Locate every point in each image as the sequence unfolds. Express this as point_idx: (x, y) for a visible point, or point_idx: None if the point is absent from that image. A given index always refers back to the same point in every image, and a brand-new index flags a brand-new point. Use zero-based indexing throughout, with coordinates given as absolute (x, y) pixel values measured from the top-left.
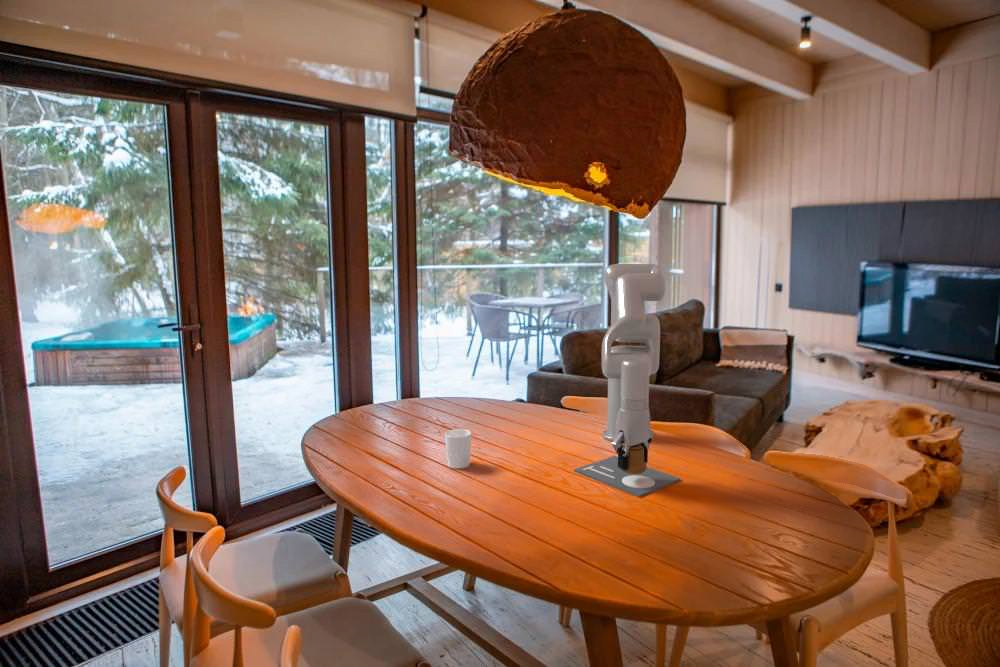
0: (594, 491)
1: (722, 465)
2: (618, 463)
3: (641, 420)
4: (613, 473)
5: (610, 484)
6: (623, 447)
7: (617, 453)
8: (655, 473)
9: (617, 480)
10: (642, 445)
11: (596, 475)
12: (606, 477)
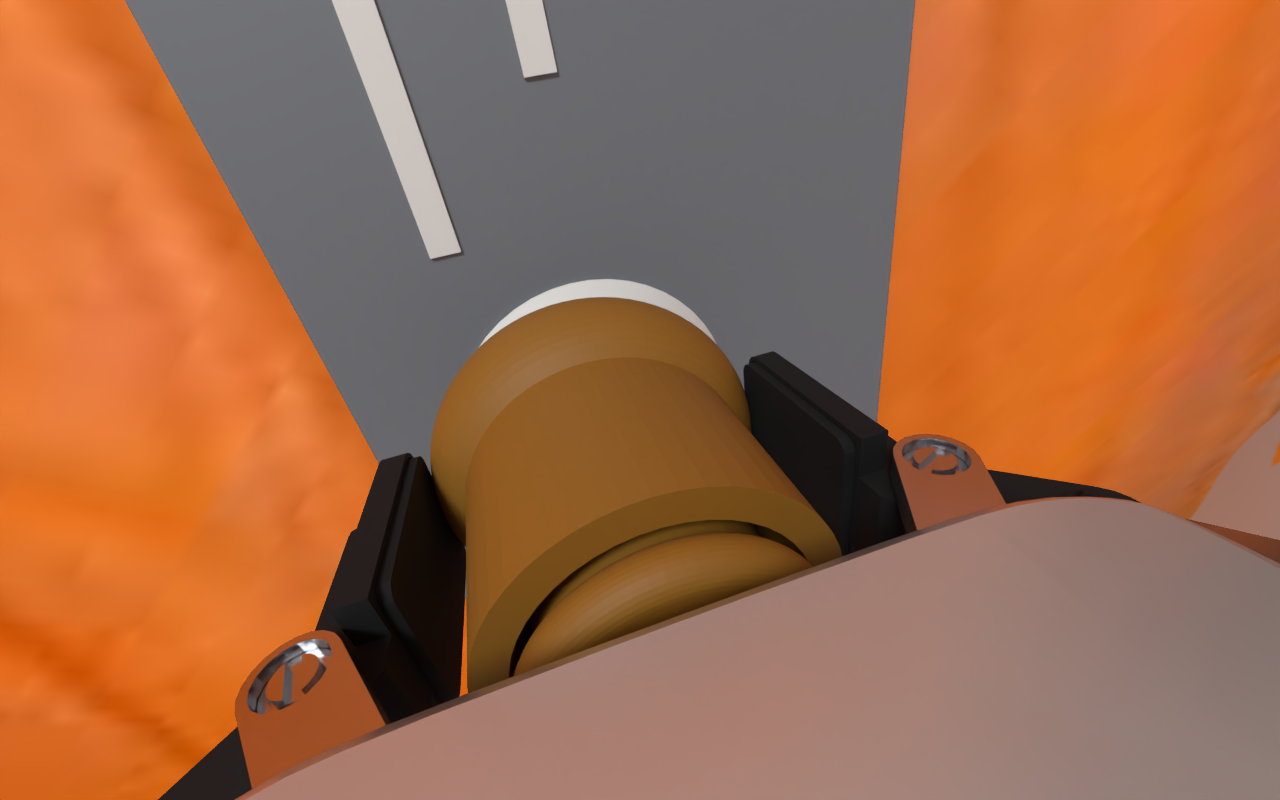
0: (78, 408)
1: (1188, 356)
2: (348, 539)
3: None
4: (507, 133)
5: (326, 361)
6: (495, 620)
7: (268, 681)
8: (830, 326)
9: (443, 321)
10: (899, 533)
11: (247, 64)
12: (361, 196)
